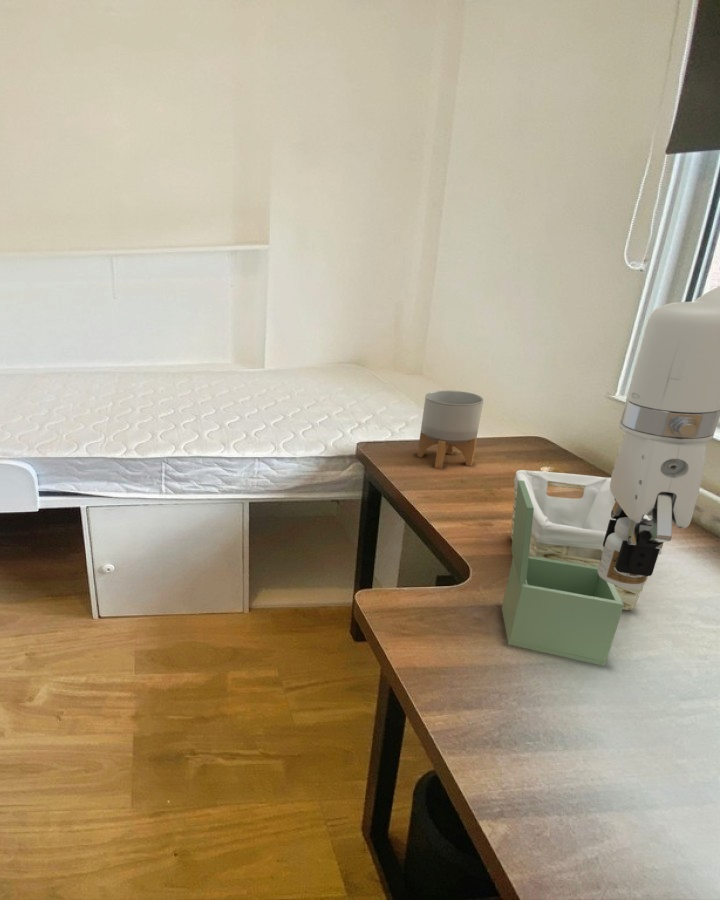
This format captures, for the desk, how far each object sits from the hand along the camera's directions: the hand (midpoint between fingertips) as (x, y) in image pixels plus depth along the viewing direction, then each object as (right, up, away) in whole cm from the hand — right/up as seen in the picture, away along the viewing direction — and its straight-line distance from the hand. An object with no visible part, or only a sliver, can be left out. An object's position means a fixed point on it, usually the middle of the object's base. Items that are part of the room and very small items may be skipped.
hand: (625, 559), depth 67 cm
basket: (+20, -9, +34) cm, 41 cm away
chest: (+6, -16, +19) cm, 25 cm away
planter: (+26, +10, +82) cm, 87 cm away
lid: (-1, +1, +16) cm, 16 cm away
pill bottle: (0, -3, +1) cm, 3 cm away
